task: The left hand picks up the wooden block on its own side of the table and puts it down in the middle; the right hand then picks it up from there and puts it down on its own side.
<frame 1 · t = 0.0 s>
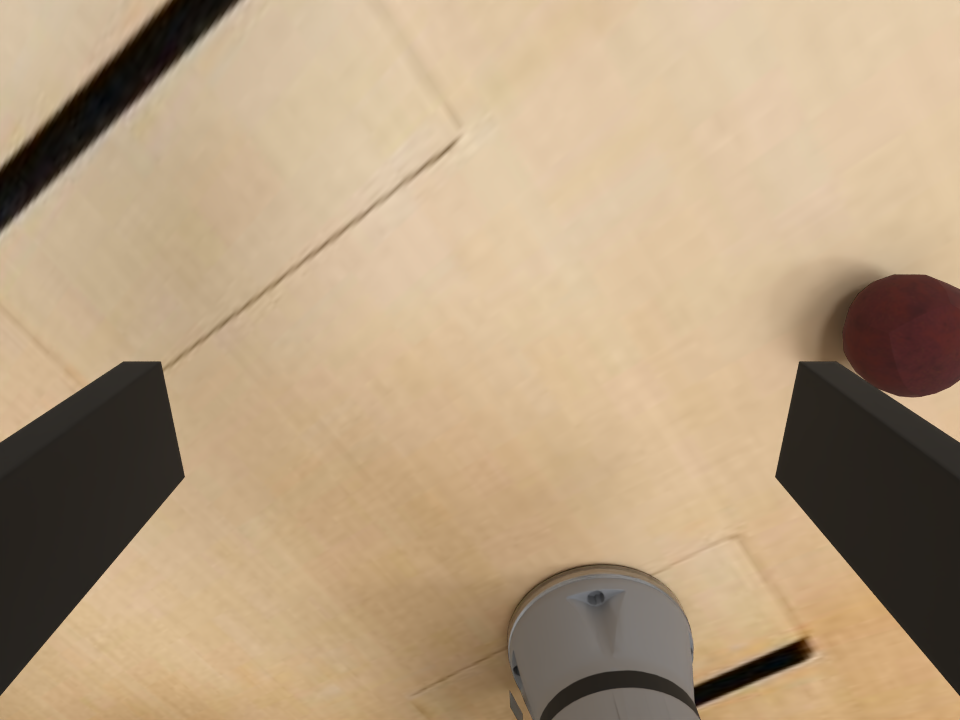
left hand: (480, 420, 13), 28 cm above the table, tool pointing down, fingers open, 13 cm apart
dark maroon ball: (873, 316, 41), on the table
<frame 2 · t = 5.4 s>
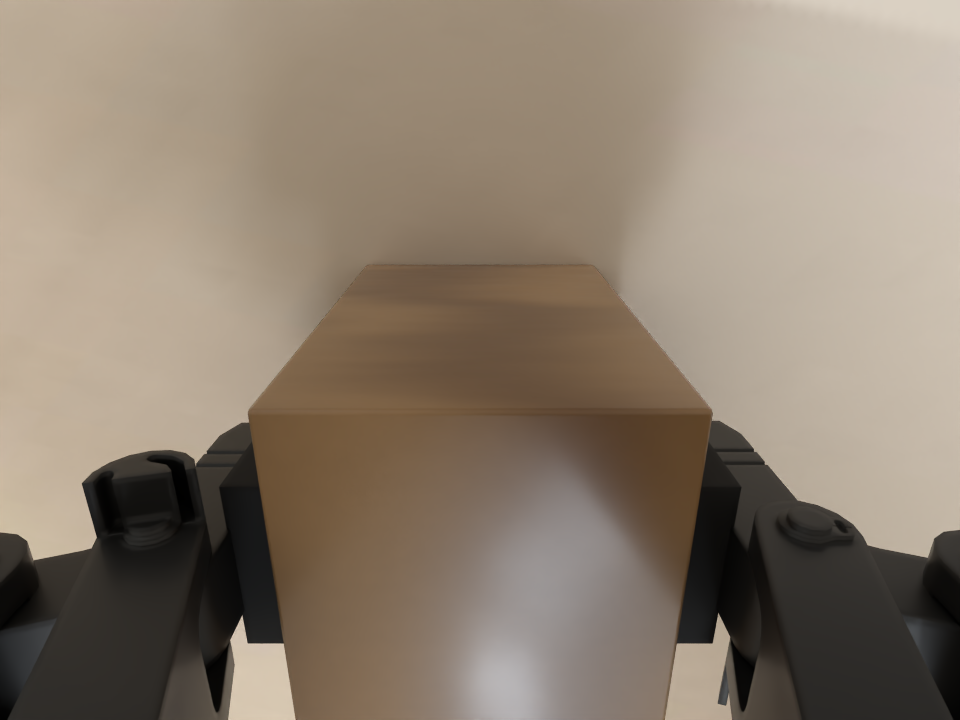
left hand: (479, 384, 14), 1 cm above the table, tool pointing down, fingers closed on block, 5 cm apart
block: (480, 371, 15), on the table, touching left hand
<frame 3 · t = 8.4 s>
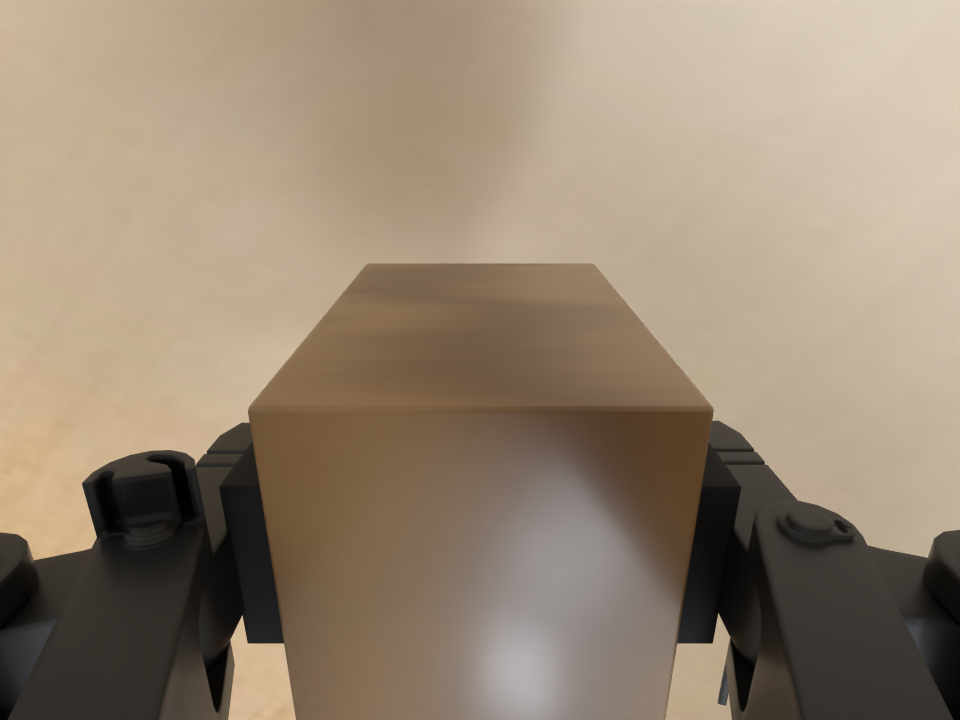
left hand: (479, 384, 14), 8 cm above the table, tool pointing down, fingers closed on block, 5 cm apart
block: (480, 370, 15), point 8 cm above the table, touching left hand
when the left hand's fingers open (2 cm above the table, at t = 11.3 s): block drops 1 cm, on the table.
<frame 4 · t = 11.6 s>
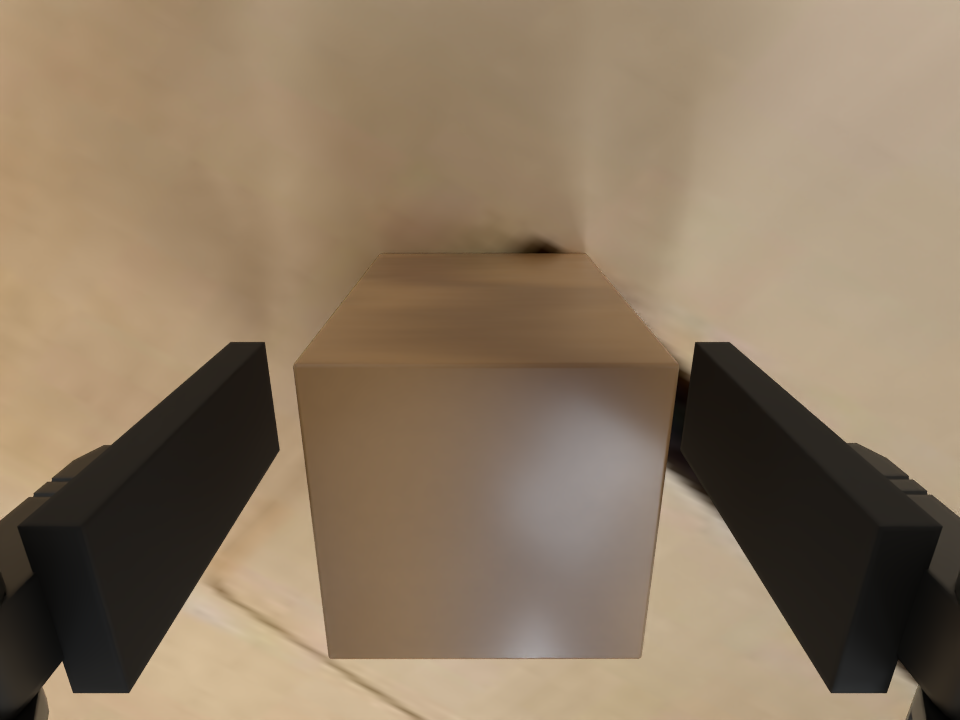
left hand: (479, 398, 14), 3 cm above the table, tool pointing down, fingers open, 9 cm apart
block: (482, 351, 17), on the table
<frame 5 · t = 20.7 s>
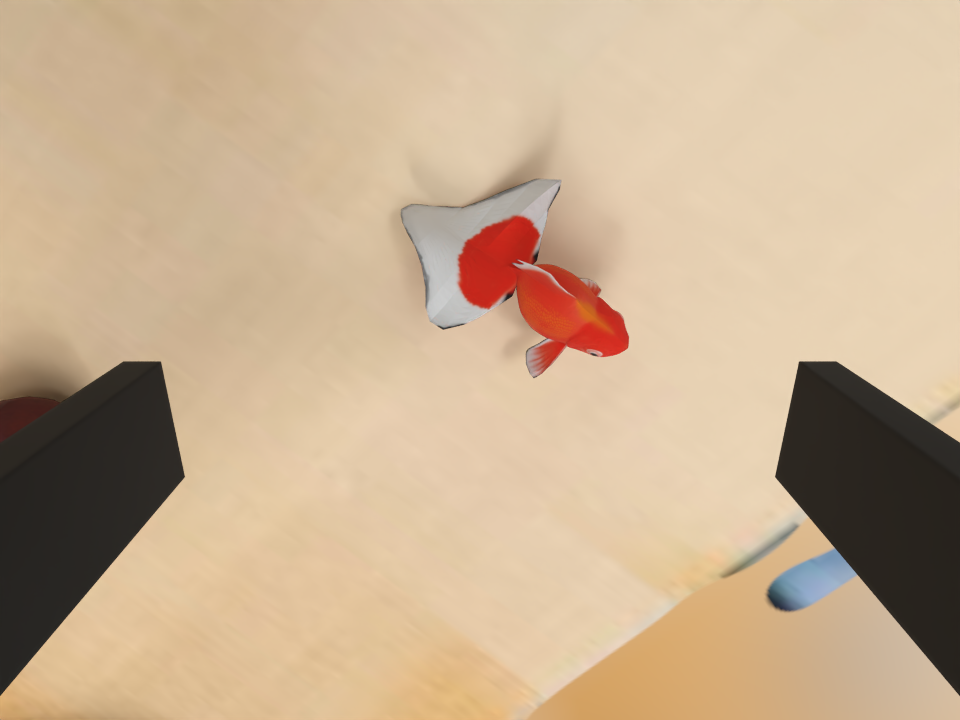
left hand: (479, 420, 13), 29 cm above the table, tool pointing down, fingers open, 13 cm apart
fish: (508, 264, 41), on the table
dark maroon ball: (58, 424, 45), on the table
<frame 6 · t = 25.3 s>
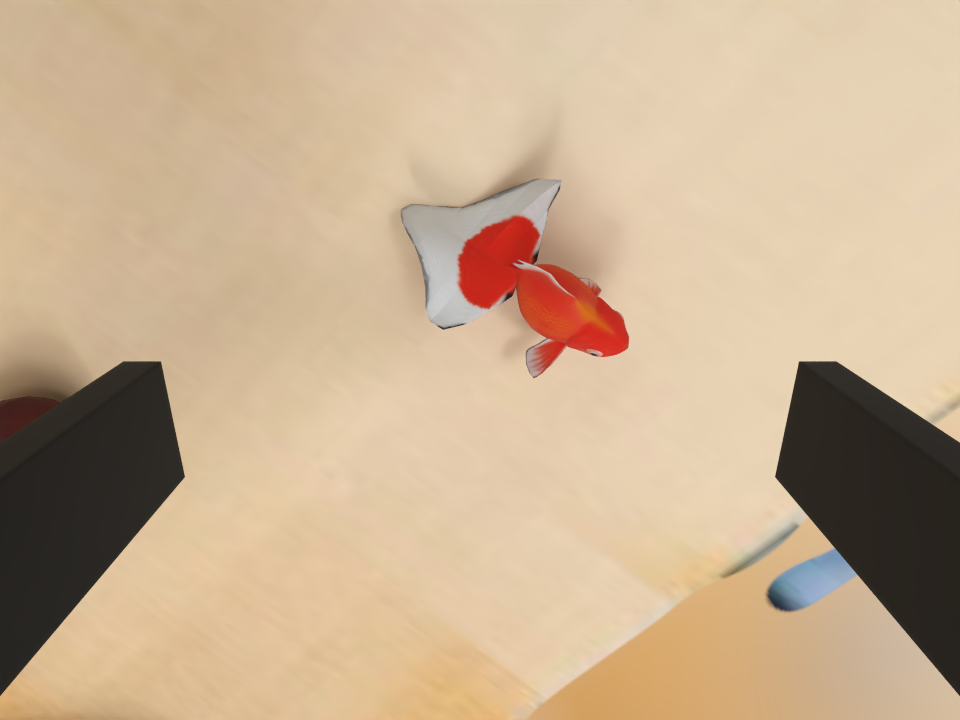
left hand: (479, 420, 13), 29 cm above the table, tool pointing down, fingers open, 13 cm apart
fish: (508, 264, 41), on the table
dark maroon ball: (58, 424, 45), on the table
when the right hand's fingers open (2 cm above the table, at t = 30.4 s): block drops 1 cm, on the table.
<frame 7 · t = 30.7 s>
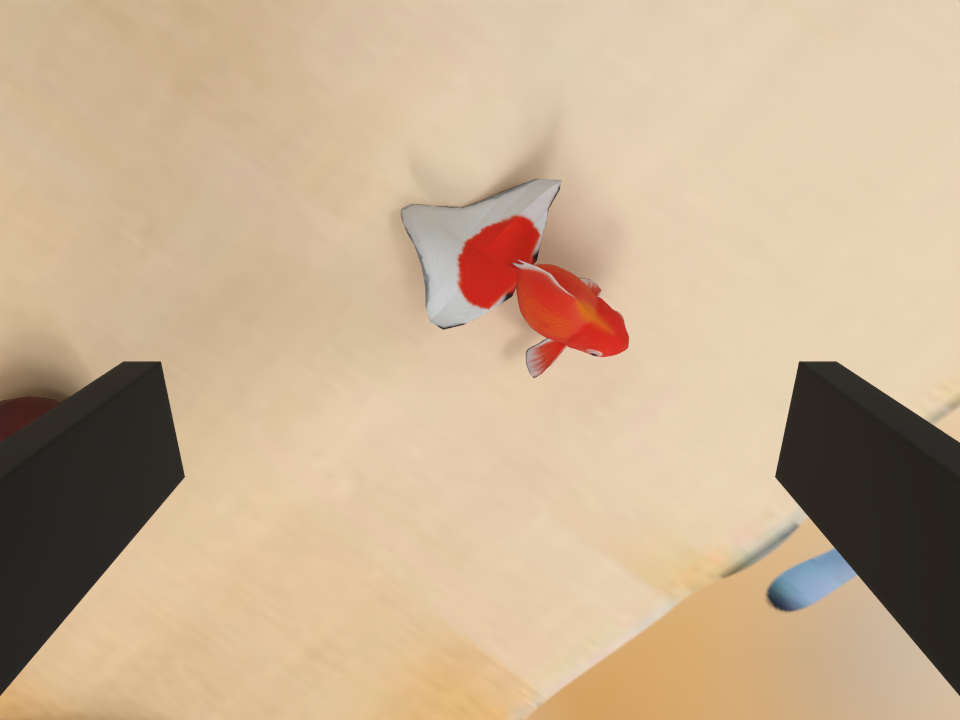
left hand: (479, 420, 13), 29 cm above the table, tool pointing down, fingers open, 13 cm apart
fish: (508, 264, 41), on the table
dark maroon ball: (58, 424, 45), on the table
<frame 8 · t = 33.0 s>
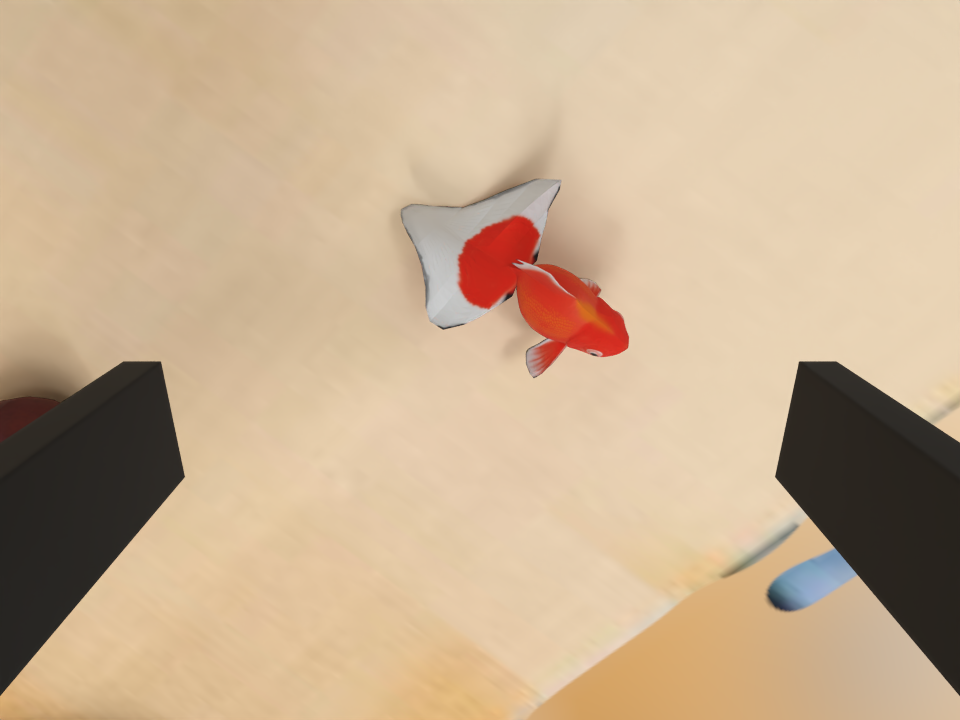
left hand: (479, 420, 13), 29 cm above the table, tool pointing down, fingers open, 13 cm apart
fish: (508, 264, 41), on the table
dark maroon ball: (58, 424, 45), on the table
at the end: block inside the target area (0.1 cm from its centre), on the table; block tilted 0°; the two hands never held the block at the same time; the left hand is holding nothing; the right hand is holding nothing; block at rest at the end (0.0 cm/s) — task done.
